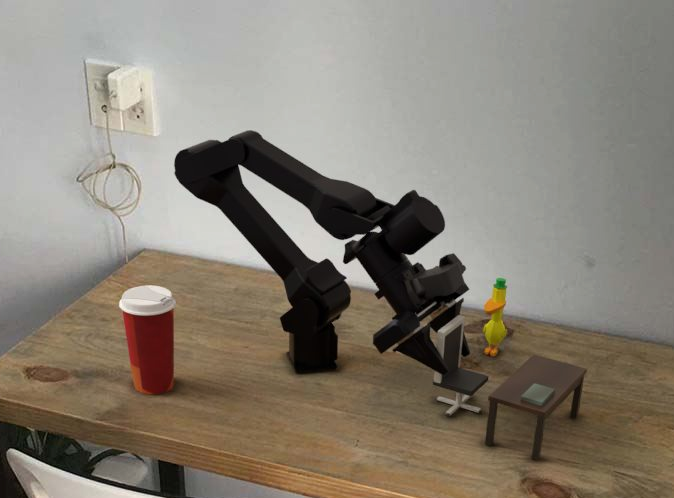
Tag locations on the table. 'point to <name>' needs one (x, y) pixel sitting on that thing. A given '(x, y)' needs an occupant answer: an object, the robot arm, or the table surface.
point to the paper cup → (150, 337)
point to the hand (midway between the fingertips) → (456, 364)
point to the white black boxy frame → (456, 368)
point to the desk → (537, 393)
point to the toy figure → (495, 316)
